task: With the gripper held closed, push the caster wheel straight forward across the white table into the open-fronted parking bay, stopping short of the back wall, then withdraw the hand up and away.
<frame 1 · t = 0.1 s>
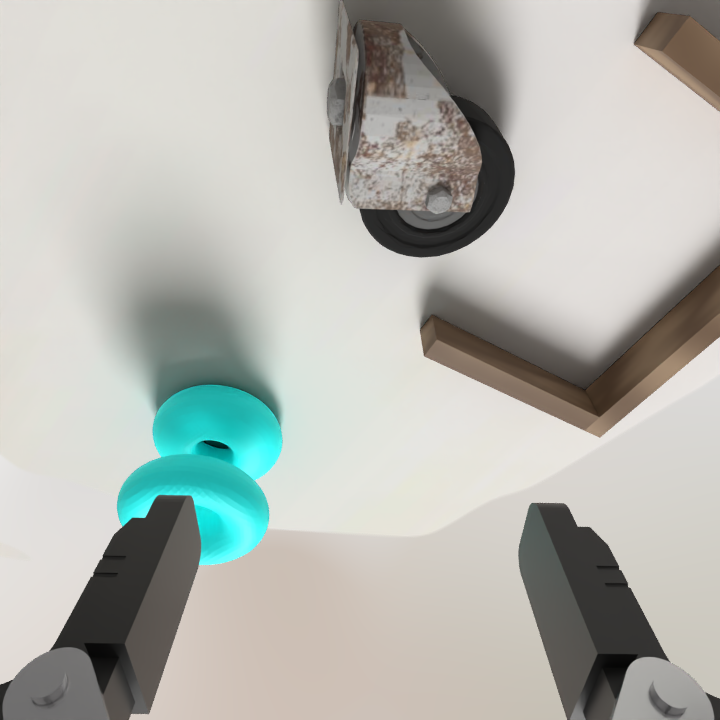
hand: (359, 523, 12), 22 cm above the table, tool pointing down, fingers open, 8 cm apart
donuts: (223, 422, 41), on the table
caster wheel: (418, 138, 28), on the table
parking bay: (604, 254, 32), on the table
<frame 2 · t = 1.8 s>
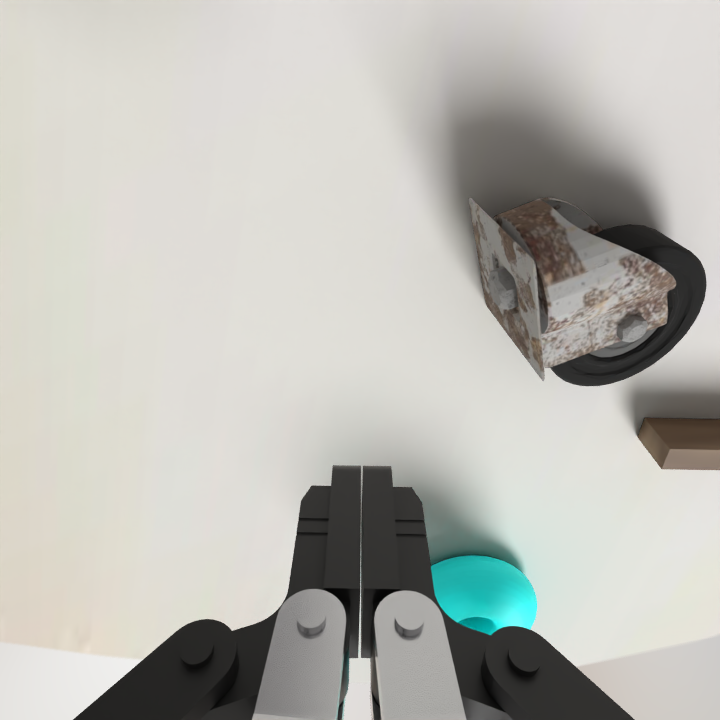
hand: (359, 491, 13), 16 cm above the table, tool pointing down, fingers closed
donuts: (465, 587, 40), on the table
caster wheel: (574, 269, 27), on the table
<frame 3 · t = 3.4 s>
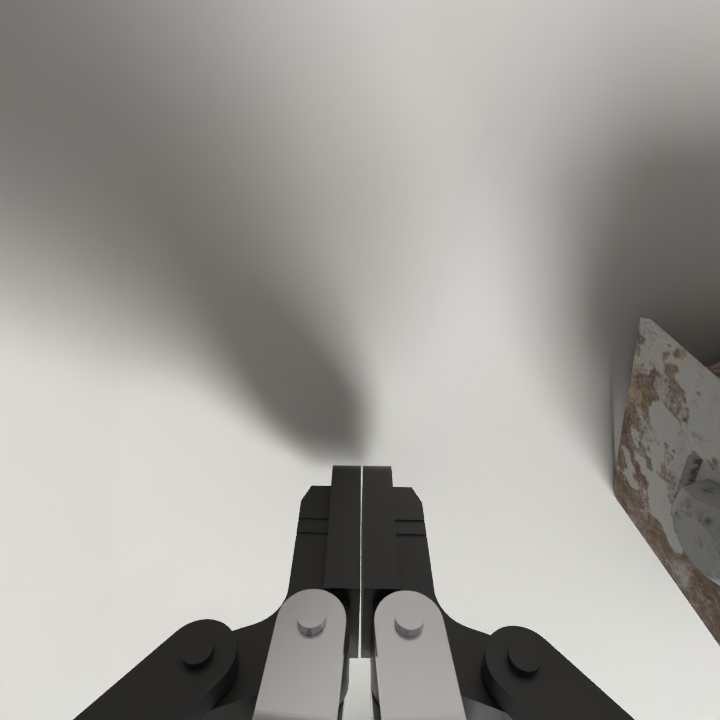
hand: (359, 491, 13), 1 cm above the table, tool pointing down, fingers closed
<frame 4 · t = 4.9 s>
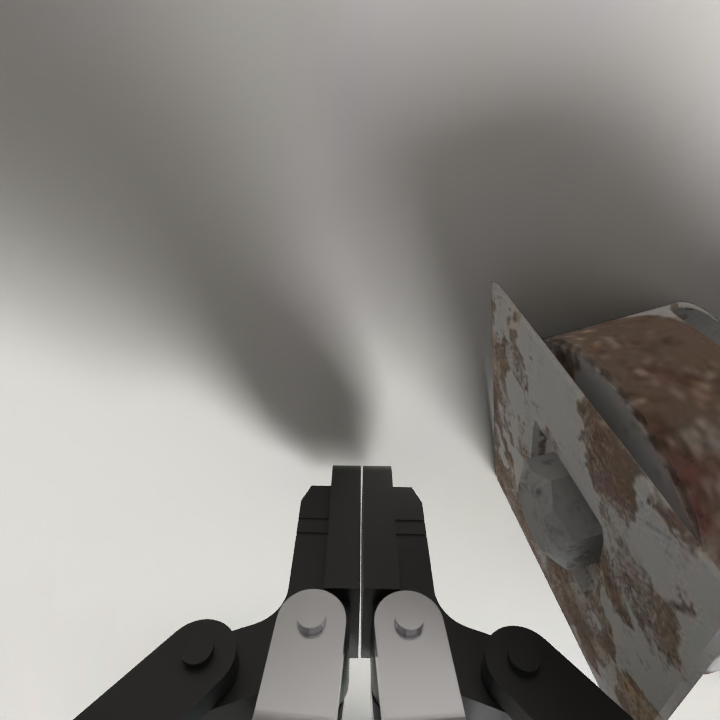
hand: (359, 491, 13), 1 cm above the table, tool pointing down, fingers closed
caster wheel: (674, 427, 14), on the table
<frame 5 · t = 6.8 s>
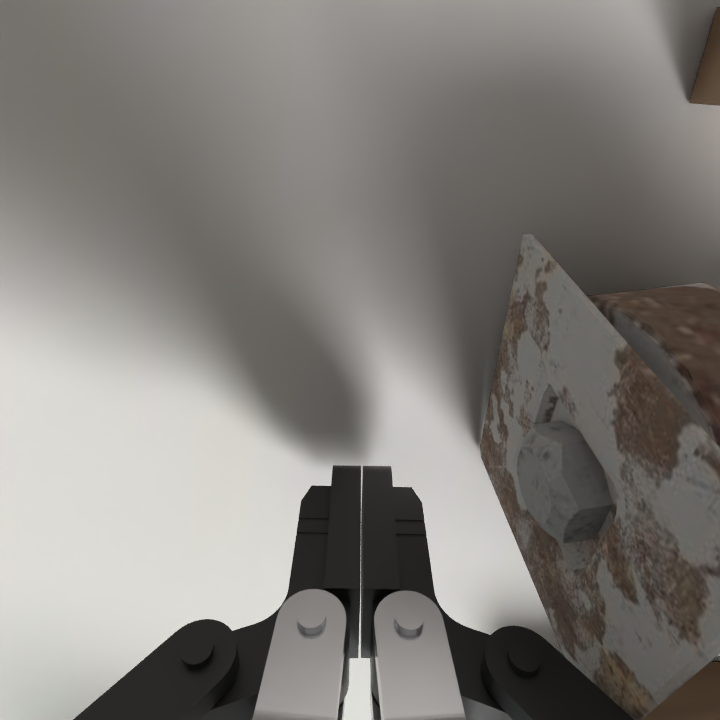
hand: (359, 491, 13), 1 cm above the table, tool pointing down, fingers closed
caster wheel: (664, 427, 14), on the table, touching hand
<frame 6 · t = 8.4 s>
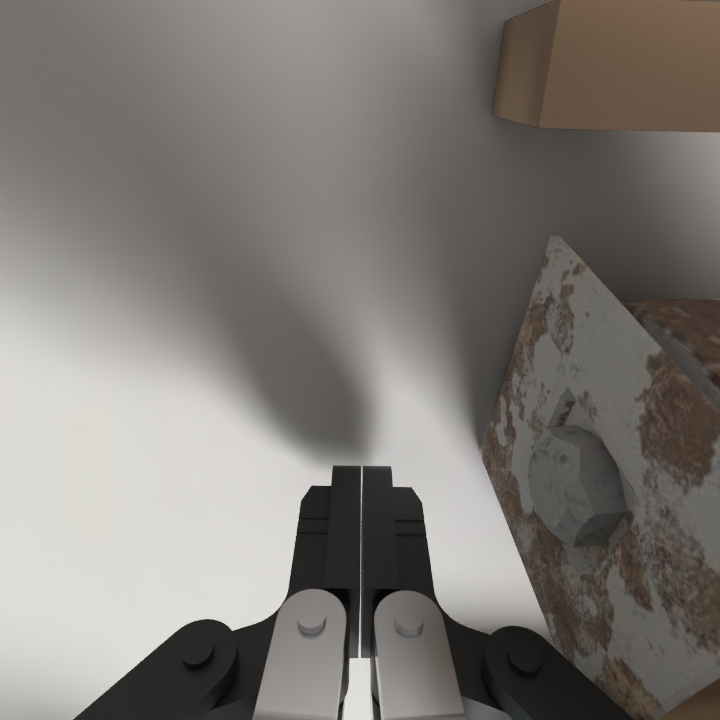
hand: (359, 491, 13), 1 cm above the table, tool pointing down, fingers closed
caster wheel: (663, 441, 14), on the table, touching hand
parking bay: (695, 480, 14), on the table
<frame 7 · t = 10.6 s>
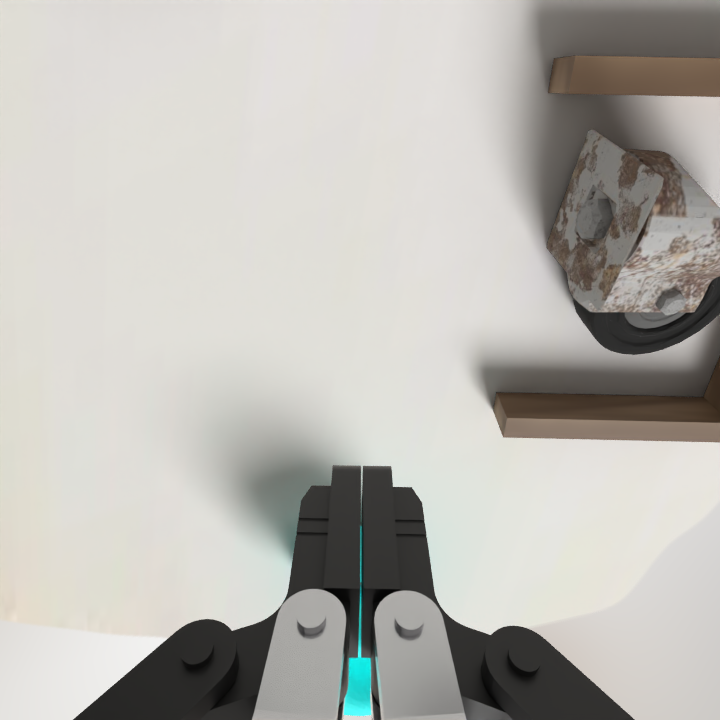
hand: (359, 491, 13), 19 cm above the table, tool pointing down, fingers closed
donuts: (359, 558, 43), on the table
caster wheel: (629, 244, 30), on the table
parking bay: (636, 266, 30), on the table
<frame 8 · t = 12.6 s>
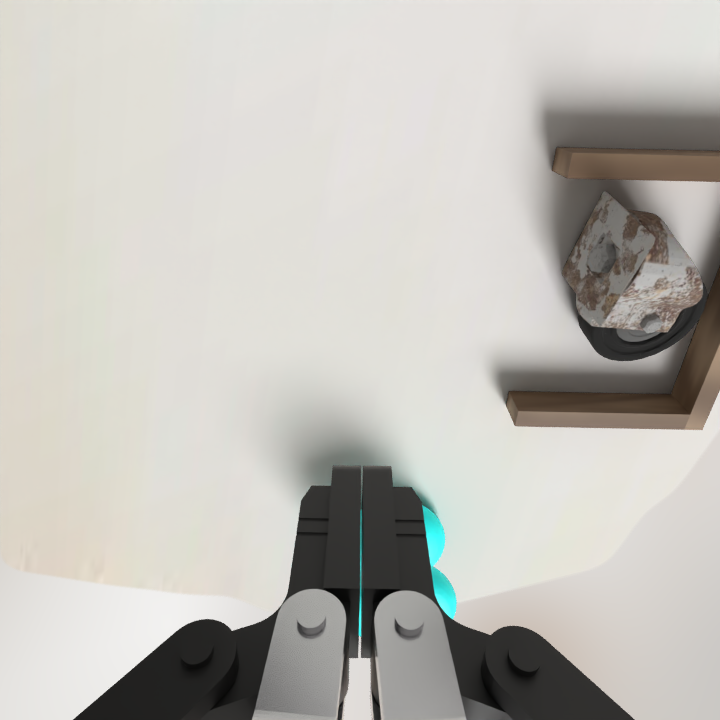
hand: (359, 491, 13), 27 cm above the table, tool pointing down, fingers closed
donuts: (393, 527, 52), on the table
caster wheel: (623, 276, 39), on the table
parking bay: (618, 295, 39), on the table
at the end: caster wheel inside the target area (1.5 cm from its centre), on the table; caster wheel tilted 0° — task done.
